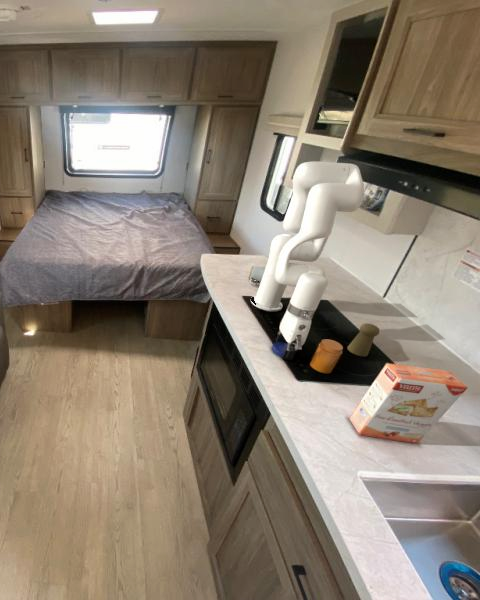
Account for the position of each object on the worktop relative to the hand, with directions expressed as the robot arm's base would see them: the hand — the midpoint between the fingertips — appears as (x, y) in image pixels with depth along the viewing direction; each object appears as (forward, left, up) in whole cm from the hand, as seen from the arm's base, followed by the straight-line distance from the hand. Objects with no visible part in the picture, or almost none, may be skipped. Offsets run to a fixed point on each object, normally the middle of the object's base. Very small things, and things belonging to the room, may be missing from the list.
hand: (282, 351), depth 116 cm
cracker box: (+31, +15, 0) cm, 34 cm away
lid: (0, 0, +1) cm, 1 cm away
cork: (-6, +27, 0) cm, 28 cm away
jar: (+6, +10, 0) cm, 12 cm away
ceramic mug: (-56, +6, 0) cm, 57 cm away
